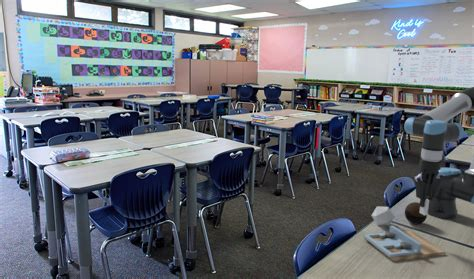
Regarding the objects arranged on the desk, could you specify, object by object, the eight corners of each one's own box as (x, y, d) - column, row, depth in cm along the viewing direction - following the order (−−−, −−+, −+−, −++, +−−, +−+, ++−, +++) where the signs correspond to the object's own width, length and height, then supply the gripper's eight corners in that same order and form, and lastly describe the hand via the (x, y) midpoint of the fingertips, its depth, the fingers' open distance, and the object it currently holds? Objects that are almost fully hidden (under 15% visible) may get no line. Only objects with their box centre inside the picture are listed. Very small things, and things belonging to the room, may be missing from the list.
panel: (391, 233, 152) (393, 225, 152) (420, 253, 137) (421, 244, 137) (363, 236, 148) (364, 228, 148) (389, 257, 133) (391, 247, 133)
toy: (397, 219, 170) (400, 200, 168) (414, 218, 173) (417, 198, 171) (413, 228, 161) (416, 207, 159) (430, 226, 164) (433, 206, 162)
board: (411, 233, 157) (412, 225, 156) (444, 254, 140) (446, 246, 139) (363, 238, 150) (364, 230, 149) (393, 261, 133) (394, 252, 132)
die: (390, 232, 158) (401, 212, 160) (372, 220, 159) (384, 201, 160) (381, 230, 167) (392, 211, 168) (365, 219, 167) (376, 201, 169)
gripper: (436, 155, 148) (428, 208, 154) (410, 157, 145) (403, 211, 150) (451, 160, 141) (443, 215, 147) (425, 163, 138) (417, 219, 143)
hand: (423, 213), depth 149 cm, fingers closed
